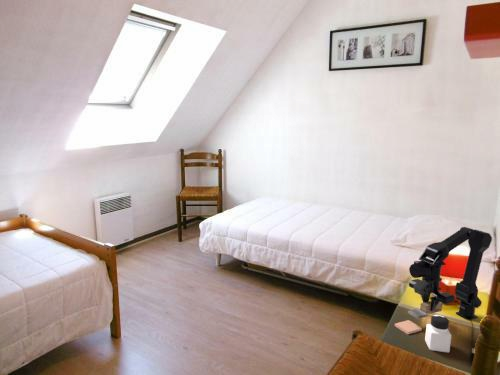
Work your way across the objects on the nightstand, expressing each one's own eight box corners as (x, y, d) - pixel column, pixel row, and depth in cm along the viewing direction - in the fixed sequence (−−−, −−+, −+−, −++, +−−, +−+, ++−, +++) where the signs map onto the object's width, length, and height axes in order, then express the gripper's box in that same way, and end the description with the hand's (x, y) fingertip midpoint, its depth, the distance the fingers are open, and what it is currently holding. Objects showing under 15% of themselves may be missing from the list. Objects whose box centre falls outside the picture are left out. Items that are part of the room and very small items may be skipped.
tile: (408, 320, 159) (394, 323, 156) (422, 328, 153) (407, 332, 150) (408, 323, 159) (394, 327, 156) (421, 331, 153) (407, 335, 150)
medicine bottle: (449, 353, 138) (453, 323, 136) (429, 350, 139) (432, 320, 137) (443, 342, 145) (447, 314, 143) (424, 339, 146) (427, 311, 144)
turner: (433, 307, 163) (434, 298, 163) (443, 312, 159) (444, 303, 158) (407, 313, 157) (408, 304, 156) (417, 318, 152) (418, 309, 152)
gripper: (401, 269, 161) (397, 303, 163) (438, 286, 144) (434, 323, 147) (419, 266, 165) (416, 299, 168) (457, 282, 149) (453, 318, 151)
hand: (428, 309), depth 158 cm, fingers closed on turner, 3 cm apart
